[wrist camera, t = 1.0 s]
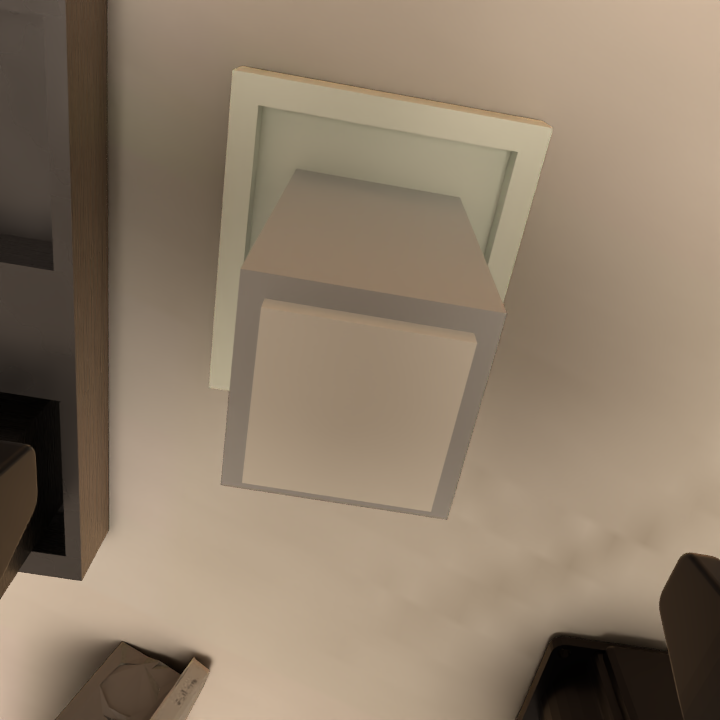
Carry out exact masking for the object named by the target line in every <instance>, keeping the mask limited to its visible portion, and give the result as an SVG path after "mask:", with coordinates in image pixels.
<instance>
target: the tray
mask: <svg viewBox="0 0 720 720" xmlns="http://www.w3.org/2000/svg"><path fill="white" fill-rule="evenodd" d="M552 131H553V128H552V127H551V126H549V125H548V124H546V123H545V122H543V121H541V120H535V119H530V118H524V117H519V116H514V115H508V114H503V113H497V112H492V111H486V110H481V109H475V108H470V107H464V106H459V105H453V104H448V103H442V102H437V101H431V100H426V99H421V98H415V97H410V96H404V95H399V94H393V93H388V92H382V91H377V90H371V89H366V88H360V87H355V86H349V85H344V84H338V83H333V82H328V81H322V80H317V79H311V78H306V77H300V76H295V75H289V74H284V73H278V72H273V71H267V70H262V69H256V68H251V67H245V66H241V67H238V68H236V69H233V70H232V82H231V95H230V109H229V122H228V136H227V149H226V162H225V176H224V189H223V202H222V216H221V229H220V243H219V256H218V269H217V283H216V296H215V309H214V323H213V336H212V350H211V363H210V376H209V388H213V389H219V390H225V391H229V389H230V378H231V367H232V356H233V345H234V334H235V323H236V312H237V301H238V290H239V279H240V269H241V267H242V265H243V263H244V261H245V260H246V258H247V256H248V254H249V252H250V251H251V249H252V247H253V245H254V244H255V242H256V240H257V238H258V236H259V235H260V233H261V231H262V229H263V227H264V226H265V224H266V222H267V220H268V218H269V217H270V215H271V213H272V211H273V209H274V208H275V206H276V204H277V202H278V201H279V199H280V197H281V195H282V193H283V192H284V190H285V188H286V186H287V184H288V183H289V181H290V179H291V177H292V175H293V174H294V172H295V170H296V169H301V170H307V171H312V172H318V173H324V174H329V175H335V176H341V177H346V178H352V179H358V180H364V181H369V182H375V183H381V184H386V185H392V186H398V187H403V188H409V189H415V190H420V191H426V192H432V193H437V194H443V195H449V196H454V197H460V199H461V201H462V204H463V206H464V209H465V211H466V214H467V216H468V219H469V221H470V224H471V226H472V228H473V231H474V233H475V236H476V238H477V241H478V243H479V246H480V248H481V251H482V253H483V256H484V258H485V261H486V263H487V265H488V268H489V270H490V273H491V275H492V278H493V280H494V283H495V285H496V288H497V290H498V293H499V295H500V298H501V300H502V302H503V303H504V299H505V296H506V292H507V289H508V285H509V282H510V278H511V274H512V271H513V267H514V264H515V260H516V257H517V253H518V250H519V246H520V243H521V239H522V236H523V232H524V229H525V225H526V222H527V218H528V215H529V211H530V208H531V204H532V201H533V197H534V194H535V190H536V187H537V183H538V180H539V176H540V173H541V169H542V166H543V162H544V159H545V155H546V152H547V148H548V145H549V141H550V138H551V134H552Z"/></svg>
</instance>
